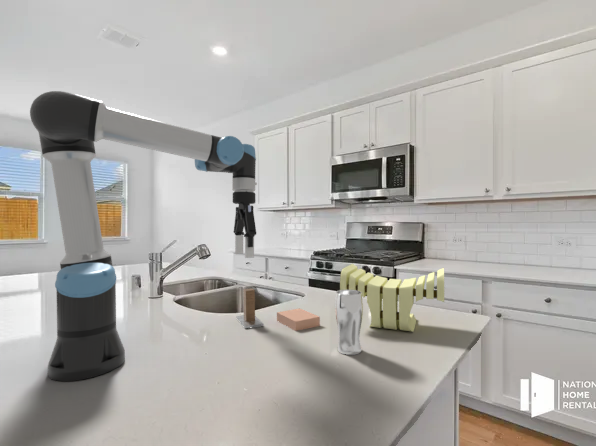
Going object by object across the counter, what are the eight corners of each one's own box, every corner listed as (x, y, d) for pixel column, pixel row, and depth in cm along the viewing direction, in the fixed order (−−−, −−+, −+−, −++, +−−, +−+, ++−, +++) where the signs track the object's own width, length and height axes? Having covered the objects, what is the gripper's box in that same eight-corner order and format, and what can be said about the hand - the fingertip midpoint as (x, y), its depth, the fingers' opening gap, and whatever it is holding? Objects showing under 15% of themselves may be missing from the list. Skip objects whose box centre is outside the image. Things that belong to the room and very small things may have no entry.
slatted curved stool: (340, 326, 104) (339, 269, 104) (352, 313, 119) (352, 263, 119) (444, 339, 92) (444, 275, 92) (444, 322, 107) (443, 267, 107)
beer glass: (368, 349, 85) (367, 291, 85) (353, 358, 80) (352, 296, 80) (345, 343, 90) (345, 288, 90) (330, 350, 85) (329, 292, 85)
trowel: (263, 326, 105) (263, 292, 105) (245, 329, 103) (244, 294, 103) (253, 316, 116) (252, 285, 116) (236, 319, 114) (235, 287, 114)
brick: (299, 317, 115) (319, 326, 105) (277, 322, 111) (295, 332, 100) (299, 308, 115) (319, 316, 105) (276, 312, 111) (295, 321, 100)
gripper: (266, 188, 100) (266, 259, 100) (245, 195, 123) (245, 252, 123) (242, 187, 97) (242, 260, 97) (225, 194, 120) (225, 252, 120)
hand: (244, 255), depth 110 cm, fingers open, 13 cm apart
